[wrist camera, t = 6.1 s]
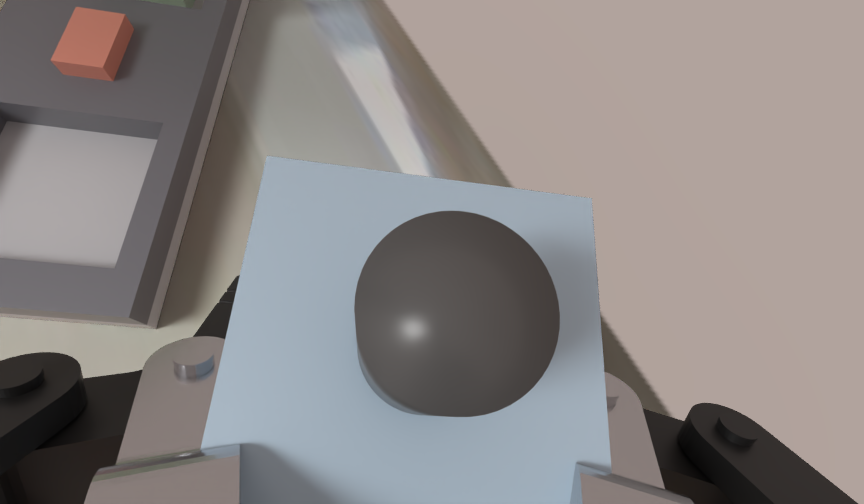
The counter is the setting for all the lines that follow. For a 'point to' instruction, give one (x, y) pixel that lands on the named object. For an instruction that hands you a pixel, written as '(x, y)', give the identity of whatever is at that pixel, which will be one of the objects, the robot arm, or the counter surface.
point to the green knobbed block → (175, 2)
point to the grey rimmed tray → (103, 149)
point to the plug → (411, 342)
